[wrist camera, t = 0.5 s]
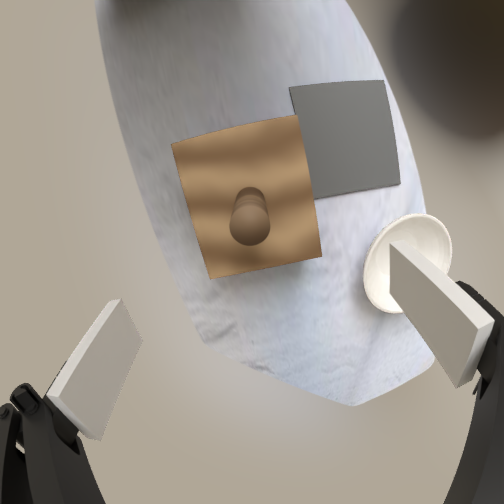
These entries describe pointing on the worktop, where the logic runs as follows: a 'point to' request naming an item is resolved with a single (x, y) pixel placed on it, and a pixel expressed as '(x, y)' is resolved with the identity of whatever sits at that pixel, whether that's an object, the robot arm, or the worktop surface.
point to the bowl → (415, 234)
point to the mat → (347, 136)
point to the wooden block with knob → (250, 196)
